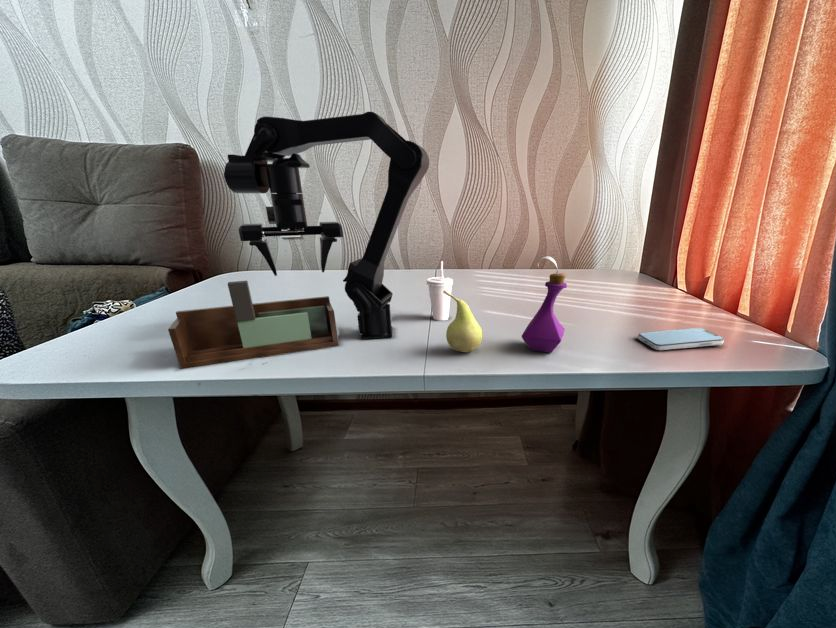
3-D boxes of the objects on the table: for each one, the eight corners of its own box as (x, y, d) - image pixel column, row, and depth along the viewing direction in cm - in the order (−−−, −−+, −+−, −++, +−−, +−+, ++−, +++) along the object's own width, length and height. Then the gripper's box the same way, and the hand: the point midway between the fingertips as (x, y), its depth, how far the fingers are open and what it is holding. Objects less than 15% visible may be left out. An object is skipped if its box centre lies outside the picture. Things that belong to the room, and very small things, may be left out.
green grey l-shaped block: (311, 340, 77) (301, 276, 72) (312, 342, 75) (301, 277, 70) (244, 349, 72) (228, 281, 67) (244, 352, 71) (227, 283, 66)
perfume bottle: (563, 343, 78) (572, 254, 71) (559, 357, 71) (569, 260, 64) (527, 339, 80) (533, 252, 73) (520, 352, 73) (525, 258, 67)
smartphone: (635, 332, 80) (700, 326, 82) (634, 339, 81) (698, 334, 83) (657, 345, 73) (727, 338, 75) (656, 353, 74) (725, 346, 76)
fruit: (479, 359, 70) (480, 296, 66) (440, 356, 72) (438, 294, 67) (484, 346, 76) (485, 287, 72) (448, 343, 78) (447, 286, 73)
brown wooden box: (333, 333, 83) (328, 296, 80) (338, 345, 77) (333, 305, 73) (189, 353, 73) (176, 311, 70) (180, 369, 66) (165, 323, 63)
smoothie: (450, 323, 90) (449, 263, 85) (424, 321, 91) (422, 262, 86) (456, 315, 96) (455, 259, 91) (432, 313, 97) (430, 258, 92)
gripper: (331, 193, 84) (340, 264, 90) (235, 193, 77) (252, 270, 83) (338, 193, 75) (347, 272, 81) (230, 193, 67) (249, 280, 73)
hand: (300, 273), depth 79 cm, fingers open, 9 cm apart
